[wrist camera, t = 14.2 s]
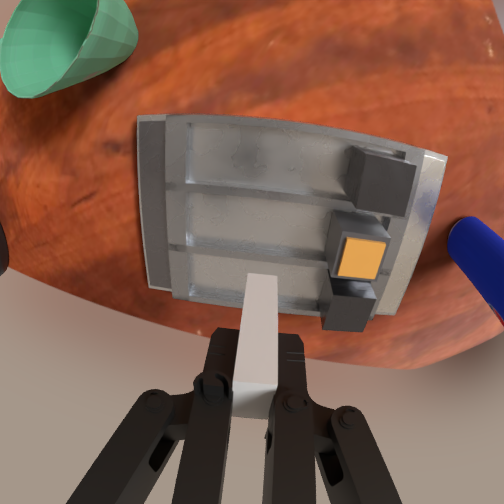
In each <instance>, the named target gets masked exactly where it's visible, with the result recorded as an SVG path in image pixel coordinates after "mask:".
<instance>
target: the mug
mask: <svg viewBox="0 0 504 504" xmlns="http://www.w3.org/2000/svg"><path fill="white" fill-rule="evenodd" d="M137 42H138V30H137V27H136V25H135V22H134V19H133V16H132V14H131V12H130V10H129V8H128V7H127V5H126V3H125V2H124V1H123V0H21V1H20V3H19V4H18V6H17V7H16V8H15V10H14V12H13V14H12V16H11V18H10V20H9V22H8V24H7V27H6V29H5V32H4V36H3V38H1V39H0V72H1V77H2V81H3V83H4V84H5V86H6V88H7V90H8V91H9V92H10V93H11V94H13V95H14V96H16V97H17V98H30V99H32V98H38V97H42V96H44V95H47V94H49V93H52V92H55V91H58V90H61V89H64V88H67V87H69V86H72V85H75V84H77V83H80V82H83V81H85V80H88V79H91V78H93V77H95V76H97V75H100V74H102V73H104V72H106V71H108V70H110V69H111V68H113V67H115V66H117V65H119V64H120V63H122V62H123V61H125V60H126V59H127V58H128V57H129V56H130V55H131V54H132V52H133V51H134V49H135V48H136V45H137Z"/></svg>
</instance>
